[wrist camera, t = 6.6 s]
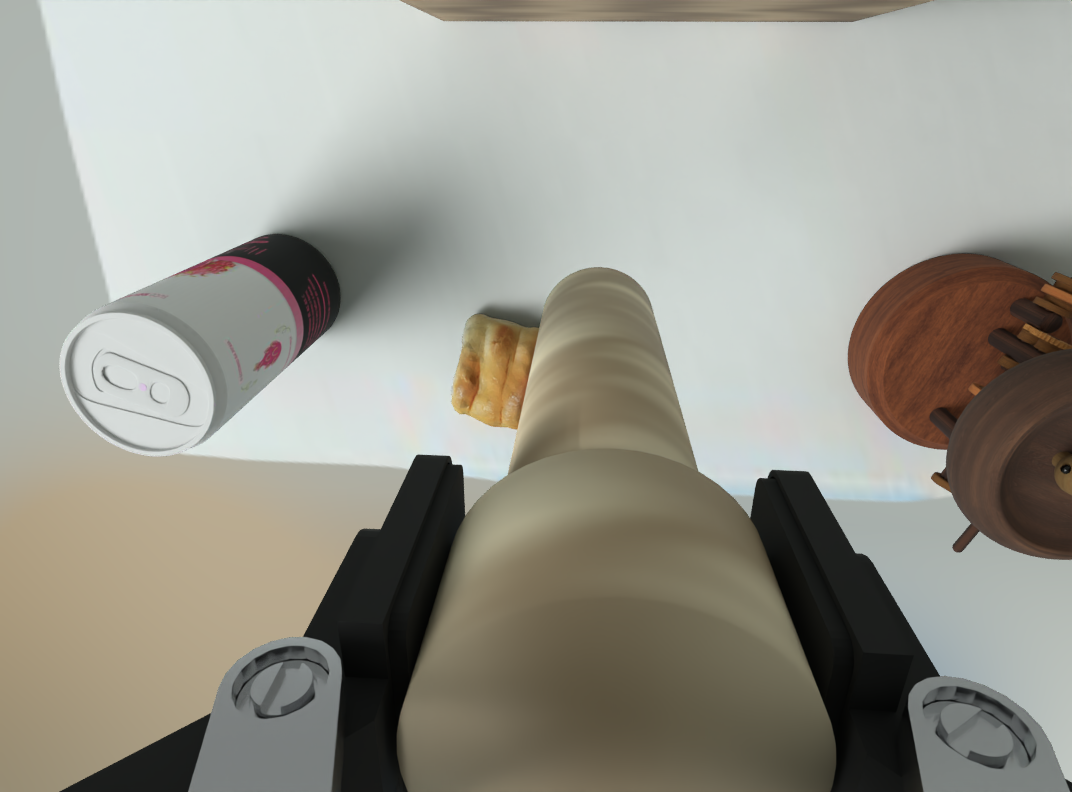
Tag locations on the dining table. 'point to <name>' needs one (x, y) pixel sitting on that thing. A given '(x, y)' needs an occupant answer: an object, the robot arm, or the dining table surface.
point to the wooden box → (660, 10)
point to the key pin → (609, 597)
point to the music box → (979, 390)
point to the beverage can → (197, 344)
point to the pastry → (493, 370)
